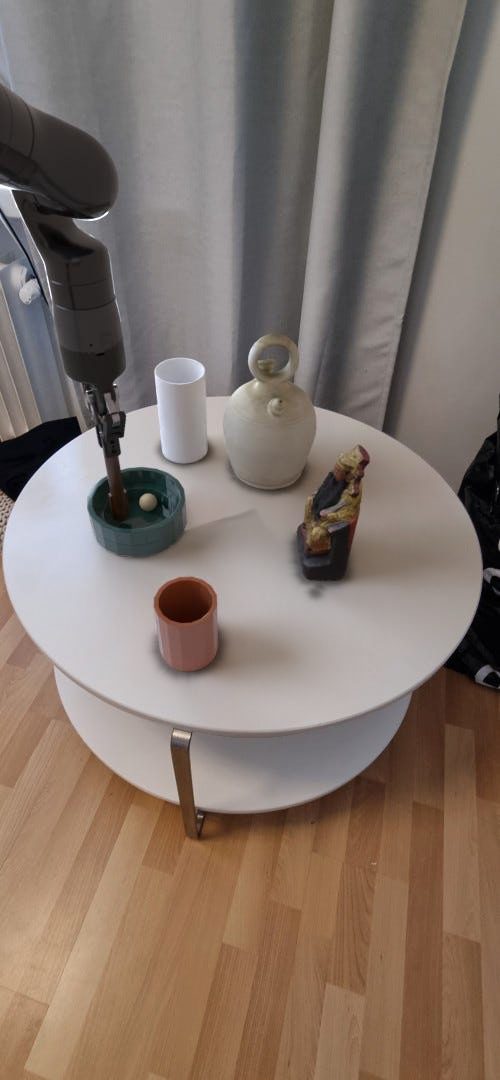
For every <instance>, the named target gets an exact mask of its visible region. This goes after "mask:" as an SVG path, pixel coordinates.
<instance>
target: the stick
mask: <svg viewBox="0 0 500 1080" xmlns="http://www.w3.org/2000/svg"><path fill="white" fill-rule="evenodd" d="M100 437H101V436H100ZM101 442H102V440H101ZM101 449H103V445H102V448H101ZM102 452H103V459H104V465H105V470H106V476H108V482H109V488H110V493H109V494H108V495H109V501H110V506H111V512H112V517H113V520H114V521H115V520H118V521H124V520H126V519H127V517H128V516H130V512H129V505H128V499H127V492H126V490H125V489H124V488H123V482H122V475H121V470H122V469H121V463H120V457H119V456H120V455H119V456H116V457H113V458H106V456H105V455H104V451H103V450H102Z"/></svg>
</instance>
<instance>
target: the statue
mask: <svg viewBox="0 0 500 1080" xmlns="http://www.w3.org/2000/svg"><path fill="white" fill-rule="evenodd" d="M370 463H371V457H370V455H369V453H368V451H367V450H366V448H365V447H363V446H362V445H361V444H356V445H355V446H354V447H353V448H351V449H349V452H344V451H343V452H340V454H339V456H338V459H337V460H336V462H335V465H334V467H333V469H332V470H331V471H328V474H327V476H326V477H325V478H324V480H323V482H322V483H321V484H320V486H319V487H318V488H317V489H316V491H314V492H313V493H311V494H310V496H308V497H307V498H306V500H305V507H304V517H303V521H302V522H301V524H299V525H298V526H297V529H296V542H297V543H296V544H297V550H298V552H297V553H298V555H299V562H300V566H301V571H302V574H303V576H304V577H305V578H306V580H309V581H325V582H327V581H328V582H329V581H331V582H335V581H336V582H337V581H340V580H342V579H343V578H344V577H345V575H346V572H347V569H348V563H349V558H350V554H351V550H352V546H353V543H354V538H355V534H356V530H357V525H358V521H359V518H360V513H361V504H362V498H363V482H362V479H363V478H364V477H365V469H366V468H367V467H368V466H369V464H370ZM314 593H315V592H314Z"/></svg>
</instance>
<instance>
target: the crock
mask: <svg viewBox="0 0 500 1080" xmlns="http://www.w3.org/2000/svg"><path fill="white" fill-rule="evenodd" d="M153 613H154V619H155V626H156V630H157V631H156V633H157V640H158V647H159V651H160V654H161V658H162V659H163V661H164V662H165V663H166V664H167V665H168V666H169V667H171V668H172V669H174V670H177V671H180V672H194V671H198V670H202V669H203V668H206V667H207V666H208V665H209V664H211V662H212V661H213V660H214V659H215V657H216V656H217V652H218V650H219V649H218V648H219V633H218V632H219V626H218V625H219V623H218V621H219V620H218V619H219V618H218V617H219V616H218V595H217V593H216V591H215V589H214V587H213V585H212V584H210V583H208V582H207V581H205V580H204V579H202V578H198V577H195V576H178V577H175V578H172V579H170V580H168V581H166V582H165V583H163V585H161V586H160V587H159V588H158V589H157V592H156V593H155V595H154V597H153Z"/></svg>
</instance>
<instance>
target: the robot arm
mask: <svg viewBox="0 0 500 1080" xmlns="http://www.w3.org/2000/svg"><path fill="white" fill-rule="evenodd" d="M119 186H120V185H119V175H118V171H117V167H116V165H115V161H114V159H113V157H112V156H111V154H110V152H109V151H108V149H107V148H106V147H105V146H104V145H103V143H102V142H101V141H99V140H98V139H97V138H96V137H95V136H93V135H92V134H91V133H89V132H87V131H85V130H84V129H81V128H80V127H79V126H76V125H74V124H72V123H69V122H68V121H66V120H63V119H61V118H60V117H57V116H55V115H52V114H51V113H48V112H46V111H43V110H40V109H38V108H36V107H34V106H33V105H31V104H29V103H28V102H26V101H25V100H24V99H23V98H22V97H21V96H19V95H18V94H17V93H16V92H14V91H13V90H11V88H9V87H7V86H6V85H5V84H3V83H2V82H1V81H0V187H2V188H5V189H6V188H7V189H9V190H10V194H11V197H12V199H13V201H14V203H15V206H16V208H17V210H18V213H19V215H20V217H21V219H22V221H23V223H24V225H25V227H26V229H27V232H28V233H29V235H30V238H31V240H32V242H33V244H34V246H35V248H36V250H37V252H38V254H39V256H40V258H41V260H42V262H43V264H44V270H45V275H46V279H47V280H46V281H47V284H48V285H47V286H48V289H49V294H50V299H51V305H52V317H53V323H54V328H55V332H56V333H55V334H56V337H57V342H58V347H59V351H60V356H61V361H62V364H63V370H64V372H65V374H66V375H67V377H69V378H70V379H71V380H73V381H74V382H78V383H79V387H80V390H81V392H82V395H83V398H84V405H85V406H86V410H87V412H88V413H89V414H90V416H91V418H90V419H91V423H93V425H94V428H95V432H96V439H97V444H98V445H99V447H100V448H101V449H102V452H103V451H104V454H103V456H104V455H105V456H106V458H113V457H116V456H121V454H122V450H121V449H122V448H121V444H120V439H123V438H124V437H125V431H126V422H127V414H126V412H125V411H124V410H121V408H120V407H121V406H120V402H119V400H120V390H119V387H118V385H117V383H115V384H114V382H115V381H116V380H117V379H118V378H120V377H121V376H122V375H123V374H124V373H125V370H126V368H127V360H126V352H125V345H124V344H125V343H124V335H123V329H122V320H121V315H120V310H119V305H118V303H117V298H116V292H115V284H114V279H113V278H114V277H113V269H112V261H111V256H110V252H109V250H108V247H107V246H106V245H105V243H104V242H103V241H102V240H100V239H98V238H96V237H94V236H93V235H91V234H90V233H87V232H86V231H84V230H82V229H81V227H79V226H78V225H77V223H76V222H75V220H79V221H80V220H81V221H97V220H99V219H101V218H103V217H105V216H106V215H107V214H109V212H110V211H111V210H112V209H113V207H114V206H115V204H116V202H117V199H118V195H119V189H120V188H119ZM74 219H75V220H74ZM100 436H101V437H100ZM101 440H102V442H101ZM102 445H103V448H102Z"/></svg>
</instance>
